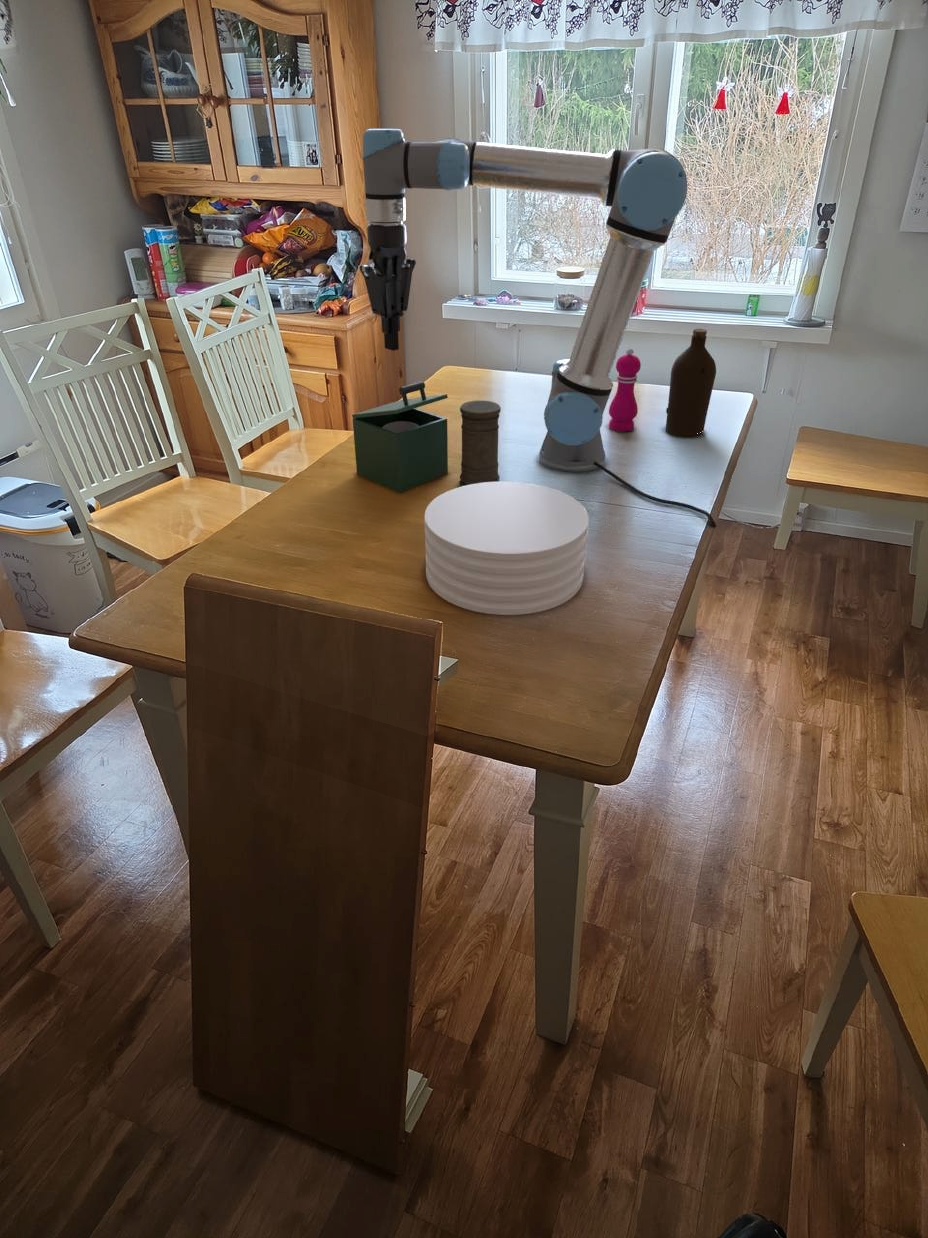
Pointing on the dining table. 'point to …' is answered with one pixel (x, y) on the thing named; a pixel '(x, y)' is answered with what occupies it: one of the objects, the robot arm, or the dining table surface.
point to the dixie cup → (399, 426)
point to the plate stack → (505, 547)
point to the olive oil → (690, 389)
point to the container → (479, 442)
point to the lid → (403, 402)
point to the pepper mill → (625, 393)
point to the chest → (401, 449)
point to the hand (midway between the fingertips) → (391, 348)
